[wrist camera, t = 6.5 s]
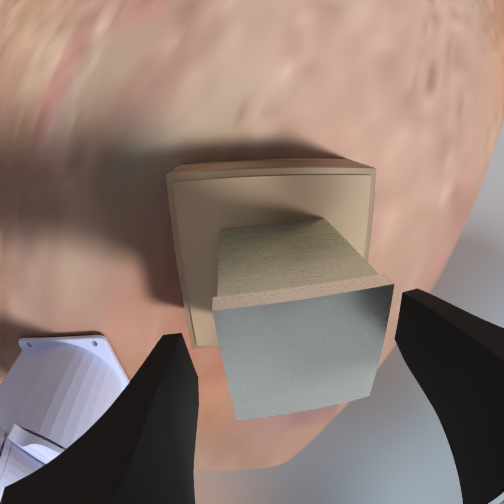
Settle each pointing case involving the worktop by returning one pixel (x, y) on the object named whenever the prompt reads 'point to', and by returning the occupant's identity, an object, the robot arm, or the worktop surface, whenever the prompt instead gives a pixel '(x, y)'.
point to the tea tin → (297, 317)
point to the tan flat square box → (257, 215)
